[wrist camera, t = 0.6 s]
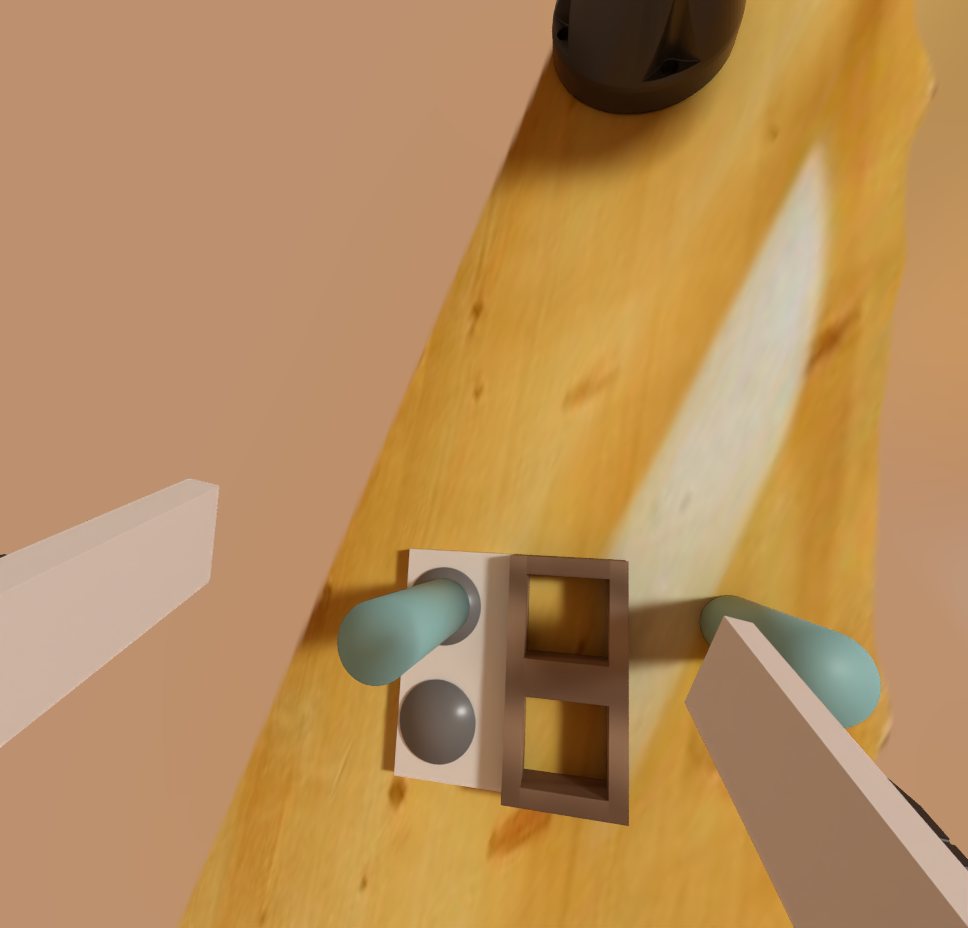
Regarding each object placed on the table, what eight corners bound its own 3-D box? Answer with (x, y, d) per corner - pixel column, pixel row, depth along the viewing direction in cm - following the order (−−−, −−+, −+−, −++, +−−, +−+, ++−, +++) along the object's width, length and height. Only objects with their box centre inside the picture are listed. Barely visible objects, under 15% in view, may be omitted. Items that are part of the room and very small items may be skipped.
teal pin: (718, 583, 32) (803, 610, 20) (775, 617, 31) (899, 666, 19) (689, 633, 31) (757, 689, 20) (744, 668, 31) (851, 749, 19)
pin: (436, 567, 34) (366, 583, 23) (480, 598, 33) (430, 631, 22) (407, 613, 34) (322, 652, 23) (450, 645, 33) (385, 704, 22)
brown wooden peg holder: (514, 554, 35) (510, 555, 32) (624, 560, 33) (628, 561, 31) (506, 784, 32) (500, 805, 30) (624, 803, 31) (628, 825, 28)
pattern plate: (414, 548, 36) (408, 548, 35) (514, 554, 35) (512, 554, 33) (399, 768, 34) (392, 776, 33) (506, 784, 32) (503, 794, 31)
